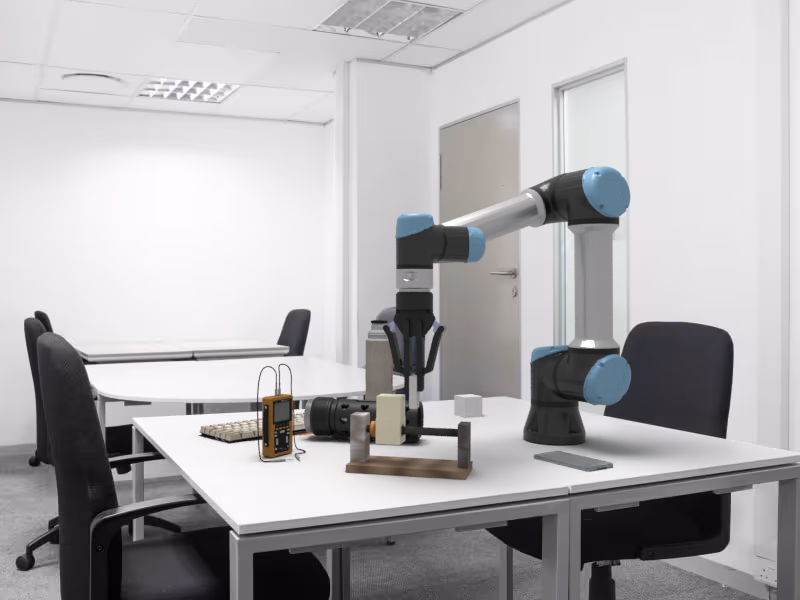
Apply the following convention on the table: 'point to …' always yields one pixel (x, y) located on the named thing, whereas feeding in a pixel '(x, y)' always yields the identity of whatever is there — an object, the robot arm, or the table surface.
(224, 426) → the mechanical keyboard
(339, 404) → the muzzle brake
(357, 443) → the twin post axle stand
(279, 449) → the multimeter
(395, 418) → the stacked cream cubes
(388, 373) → the thermos bottle
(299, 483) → the table surface
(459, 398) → the white cube
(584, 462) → the phone
